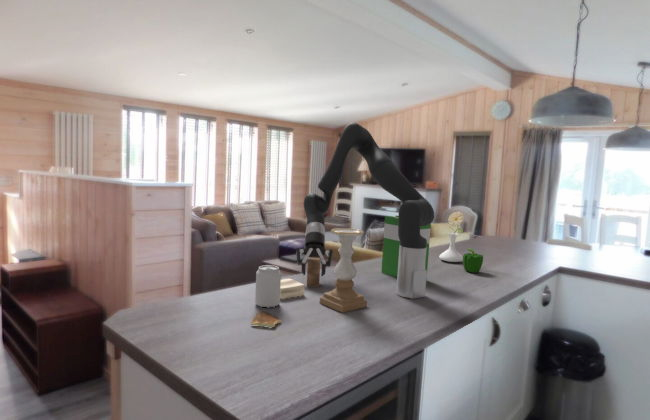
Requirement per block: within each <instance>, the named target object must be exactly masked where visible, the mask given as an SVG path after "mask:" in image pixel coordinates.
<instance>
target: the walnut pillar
mask: <svg viewBox="0 0 650 420" xmlns="http://www.w3.org/2000/svg"><path fill="white" fill-rule="evenodd" d="M306 271H307V272H306V273H307V274H306V287H310V286H315V287H314V288H316V287H317V288H318V287H319V288H320V275H321V263H320V257H311V256H309V257H308V263H307V270H306Z"/></svg>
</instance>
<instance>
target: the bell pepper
mask: <svg viewBox="0 0 650 420" xmlns="http://www.w3.org/2000/svg"><path fill="white" fill-rule="evenodd" d="M467 251H468V252H466V253H463V256H462V257H463V260H462V264H463V265H462V266H463V270H464V271H466V272H470V273H471V274H473V273H475V274H476V273H479V272H480V271H481V269H482V266H483V262H484V256H483V255H482V254H478V253H477V252H475V250H474V249H472V248H468V249H467Z"/></svg>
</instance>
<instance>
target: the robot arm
mask: <svg viewBox="0 0 650 420" xmlns="http://www.w3.org/2000/svg"><path fill="white" fill-rule="evenodd" d="M351 149H352V150H353V149H354V150H355V151H357V153H359V154H360V155H361V157H362V158H363V159H364V160H365V162H366V163H367V167H368V170H369V174H371V176H372V178H373V179H374V180H375V181H376V183H377V184H378V185H379V186H380V188H382V189H383V190H385V191H386V192H387V193H389V194H390V195H391V196H393V197H395V198H396V199H398V200H399V201H400V202H401V205H400V207H399V210H398V215H397V216H398V236H399V240H400V248H399V261H398V275H397V277H396V294H397V295H398V296H399V297H403V298H409V299H411V300H413V299H420V298H426V289H427V288H426V287H427V280H426V278H427V277H428V269H427V270H425V262H426V249H427V240H426V239H425V238H424V237H422V236H421V235H420V226H426V225H429V224H430V223H431V224H432V222H434V218H435V211H434V208H433V206H432V204H431V203H430V202H429V201H428V200H427V198H425V197H424V195H422V194H421V193H420V192H419V191H418V190H417V189H416V188H415V187H414V186H413V185H412V184H411V182H410V181H409V180H408V178H407V177H406V176H405V175H404V174H403V173H402V172H401V170H400V169H399V168H398V167H397V165H396V164H395V163H394V161H392V159H391V158H390V157H389V156H388V155H387V153H385V152H384V151H383V150H382V149H381V148H380V147H379V145H378V144H377V142H376V141H375V139H374V137H373V136H372V134H371V132H370V131H369V130H368V129H367V128H365V127H364V126H363V125H360V124H359V123H357V122H350V123H348V124H347V125H346V126H345V127H344V128H343V130H342V132H341V135H340V137H339V139H338V142H337V144H336V147H335V150H334V152H333V155H332V157H331V160H330V162H329V164H328V166H327V168H326V169H325V172H324V173H323V174H322V177H321V178H320V180H319V182H318V184H317V188H318V190H320V191H321V192H323V196H321V195H318V194H317V193H314V192H309V193H308V194H307V195H306V196H305V197H304V200H303V209H304V212H305V216H306V228H305V234H304V235H305V237H304V247H303V248H299V247H297V248H295V250H296V251H295V254H296V264H297V265H298V266H301V274H303V275H302V276H306V271H307V270H306V267H307V265H308V257H309V256H311V257H320V266H321V272H320V275H321V277H324V276H325V274H326V271H327V270H326V267H331V265H332V264H331V263H332V258H333V252H334V251H333V249H329V250H327V249H326V247H325V244H326V243H325V241H326V240H325V239H326V229H325V219H326V218H325V214H326V213H327V212H328V210H329V208H330V206H331V201H332V199H333V195H334V192H335V190H336V189H337V187H338V185H339V183H340V182H341V180H342V177H343V174H344V170H345V162H346V159H347V156H348V154H349V153H350V151H351ZM302 254H304V257H303V259H301V256H302ZM325 255H326V256H327V257H328V258H327V260H325V258H324V256H325Z"/></svg>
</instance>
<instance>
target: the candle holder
mask: <svg viewBox="0 0 650 420" xmlns="http://www.w3.org/2000/svg"><path fill="white" fill-rule="evenodd" d="M330 233H331V234H334V235H337V237H338V239H339V240H340V246H339V247H338V249H337V251H338V253H339V256H340V258H339V260H338V261H337V263H336V265H335V266H334V267H333V268H334V269H333V275H334V277H335V278H336V280H335V281H334V286H335V288H334V289H332V290H331V291H327V292H324V293H323V294H322V295H323V296H320V297H319V304H321V305H323V306H325V305H326V307H327V306H328V308H329V307H330V308H329V309H332V308H333V309H332V310H334V309H335V310H334V311H336V310H337V311H336V312H338V311H340V312H339V313H341V312H344V313H347V311H348V312H352V311H355V309H356V310H359V308H360V309H364V308H367V307H368V300H366V299H365V296H364V295H362V294H360V293H358V292H357V291H356V290H355V289H353V288H354V286H355V283H354V281H353V279H355V278H356V277H357V272H358V271H357V268H356V266H355V265H354V263H353V260H352V256H353V255H354V253H355V249H354V247H353V242H354V241H355V240H356V237H358V236H359V237H360V236H363V235H364V233H365V231H364V230H362V229H358V228H351V227H333V228H331V229H330ZM363 307H364V308H363ZM351 310H352V311H351Z"/></svg>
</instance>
